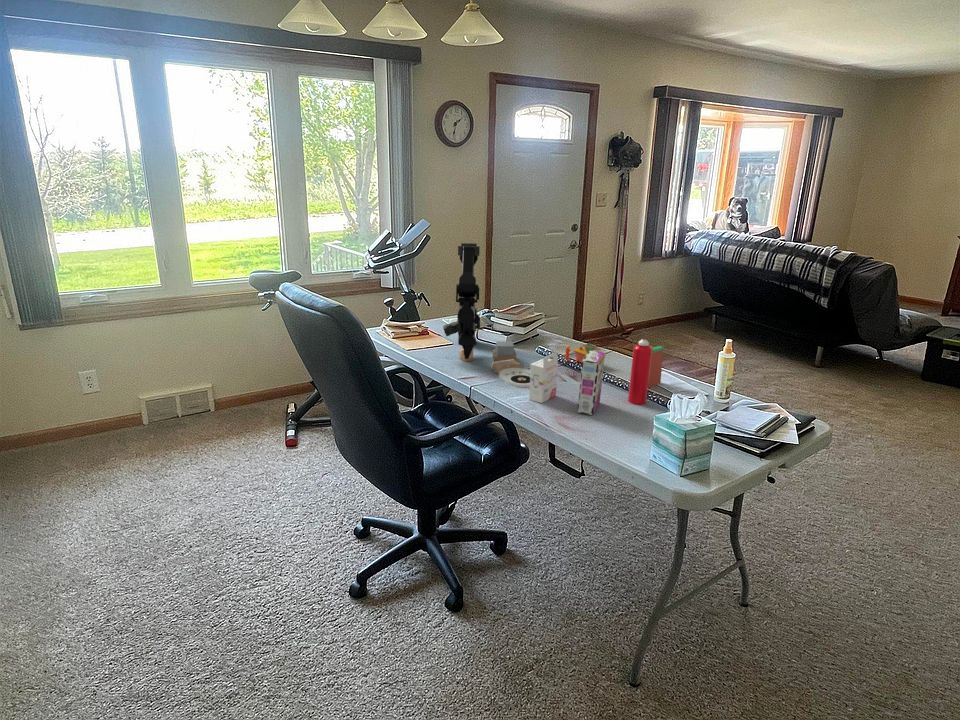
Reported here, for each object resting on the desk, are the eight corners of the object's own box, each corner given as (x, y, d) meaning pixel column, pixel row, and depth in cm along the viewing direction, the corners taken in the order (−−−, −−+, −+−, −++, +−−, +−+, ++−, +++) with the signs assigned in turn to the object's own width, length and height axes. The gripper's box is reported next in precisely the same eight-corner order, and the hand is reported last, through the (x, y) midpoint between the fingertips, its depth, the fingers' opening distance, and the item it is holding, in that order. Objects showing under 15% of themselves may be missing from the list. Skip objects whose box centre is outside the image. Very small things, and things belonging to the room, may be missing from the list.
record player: (517, 358, 207) (547, 377, 190) (517, 366, 208) (546, 385, 191) (488, 362, 202) (516, 382, 185) (488, 370, 203) (515, 391, 186)
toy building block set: (636, 391, 186) (641, 350, 182) (560, 362, 212) (562, 325, 208) (660, 383, 193) (665, 343, 189) (583, 356, 220) (586, 320, 215)
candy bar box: (594, 416, 167) (598, 363, 161) (577, 413, 168) (581, 360, 163) (601, 402, 177) (605, 351, 171) (584, 399, 178) (589, 349, 173)
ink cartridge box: (542, 391, 184) (545, 347, 179) (556, 395, 181) (559, 351, 177) (528, 399, 178) (530, 354, 173) (542, 403, 175) (544, 358, 170)
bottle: (643, 398, 181) (650, 336, 174) (648, 404, 175) (655, 342, 169) (626, 397, 181) (632, 336, 174) (630, 404, 175) (637, 341, 169)
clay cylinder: (459, 356, 216) (460, 346, 214) (473, 357, 216) (473, 347, 214) (459, 361, 211) (459, 350, 210) (473, 361, 211) (473, 351, 210)
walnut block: (492, 358, 216) (493, 349, 215) (513, 358, 217) (514, 349, 215) (494, 365, 209) (494, 356, 207) (516, 365, 209) (516, 356, 208)
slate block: (496, 350, 214) (496, 341, 213) (512, 350, 214) (512, 341, 213) (497, 355, 208) (497, 346, 207) (513, 355, 208) (514, 346, 207)
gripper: (444, 309, 216) (445, 348, 222) (444, 322, 199) (444, 364, 204) (474, 309, 217) (473, 348, 222) (476, 322, 199) (475, 364, 204)
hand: (466, 356), depth 213 cm, fingers open, 5 cm apart
